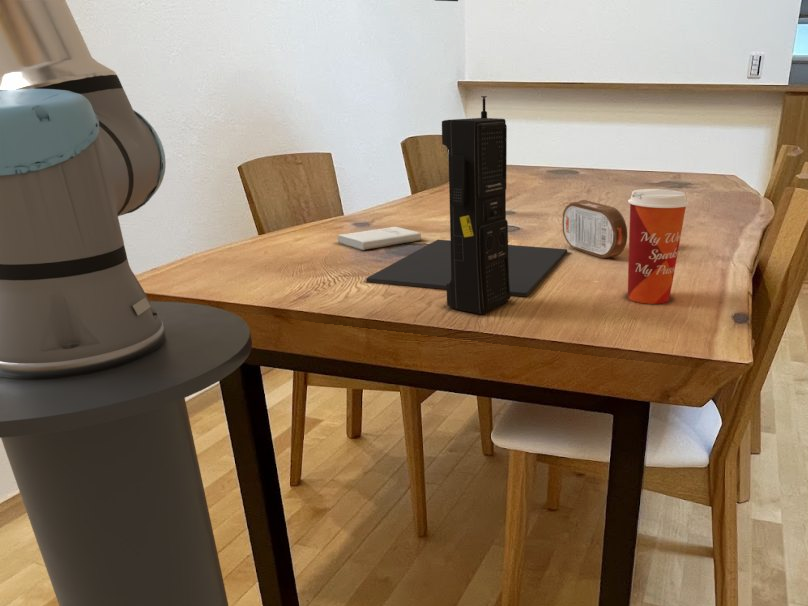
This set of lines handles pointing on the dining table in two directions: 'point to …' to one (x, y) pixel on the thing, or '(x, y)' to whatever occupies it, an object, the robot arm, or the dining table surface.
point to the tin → (594, 228)
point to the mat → (435, 267)
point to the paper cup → (654, 243)
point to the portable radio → (477, 212)
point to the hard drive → (378, 238)
